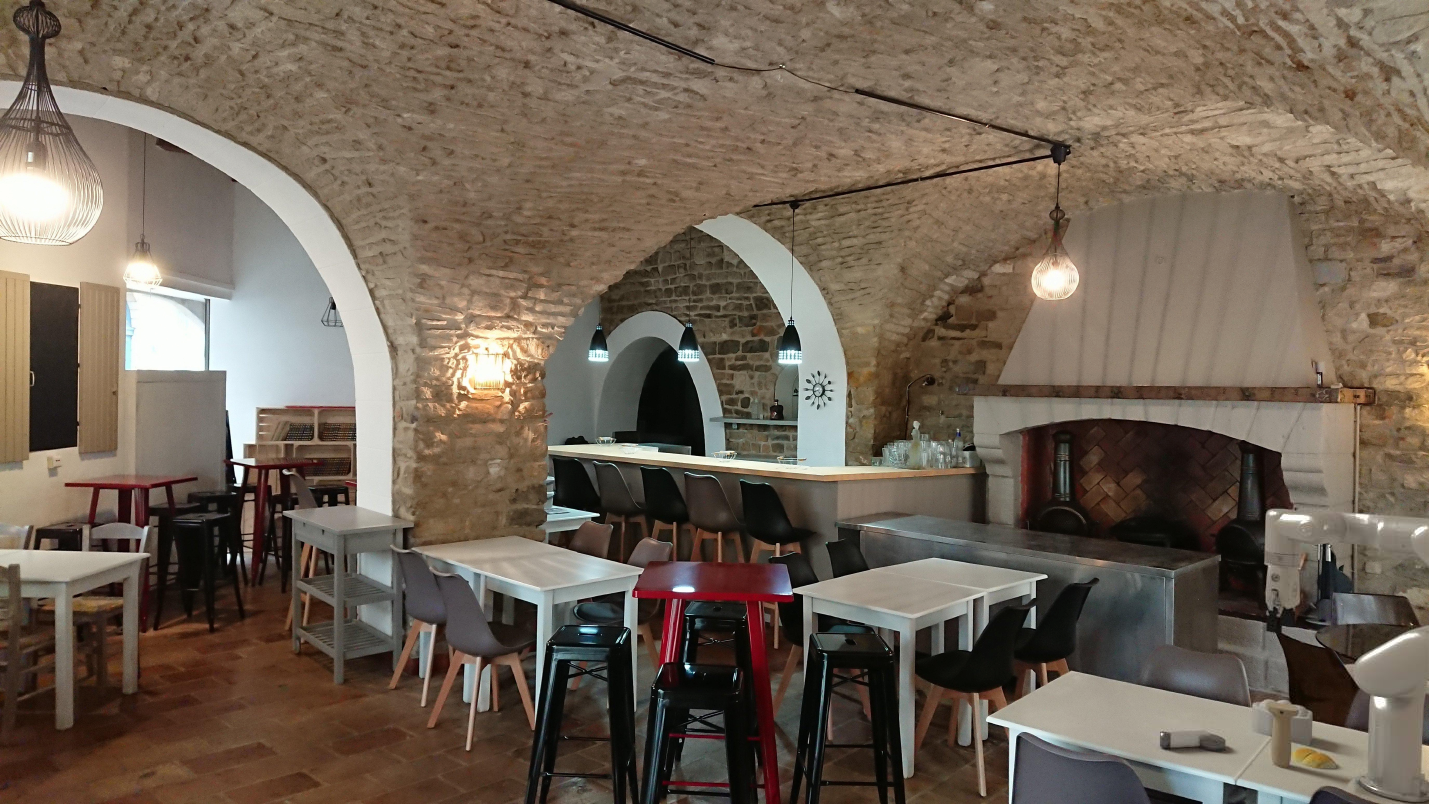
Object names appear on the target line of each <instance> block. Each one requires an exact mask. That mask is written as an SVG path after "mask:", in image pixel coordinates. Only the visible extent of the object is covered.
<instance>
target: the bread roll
mask: <svg viewBox="0 0 1429 804" xmlns="http://www.w3.org/2000/svg"><path fill="white" fill-rule="evenodd" d="M1291 760H1293V761H1294V762H1296V763H1299V764H1301V765H1303V766H1306V767H1309V768H1314V769H1320V770H1321V769H1322V770H1324V769H1337V768H1338V765H1337V763H1336V762H1335V761H1334V759H1333V758H1332V757H1330V756H1329V755H1327V754H1326V753H1323V752H1318V751H1317V750H1314V749H1311V748H1307V747H1306V748H1297V749H1295V750H1293V752H1291Z"/></svg>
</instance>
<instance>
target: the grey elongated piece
mask: <svg viewBox="0 0 1429 804" xmlns="http://www.w3.org/2000/svg"><path fill="white" fill-rule="evenodd" d="M1159 747H1161V748H1163V749H1171V748H1187V747H1196V748H1198V749H1201V750H1205V751H1209V752H1216V753H1217V752H1224V751H1225V750H1226V739H1225V738H1224V737H1222V736H1220V735H1217V734H1213V733H1211V732H1209V731H1207V730H1184V731H1183V730H1181V731H1164V730H1163V731H1160V732H1159Z"/></svg>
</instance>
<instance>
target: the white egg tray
mask: <svg viewBox="0 0 1429 804" xmlns="http://www.w3.org/2000/svg"><path fill="white" fill-rule="evenodd" d="M1267 702H1275V703H1282V704H1287V705H1291V706H1295V707H1297V708H1298V709H1299V714H1298V715H1297V716H1295V717H1292V718H1291V721H1290V726H1291V743H1292V744H1297V745H1301V746H1306V747H1310V746H1311V742H1313V711H1311V710H1309V709H1307V708H1306V707H1304V706H1303V705H1299V704H1292V702H1290V701H1289V700H1286V699H1282V700H1277V701H1276V700H1273V699H1268V698H1267V699H1264V700H1263V701H1256V702H1253V703H1252V705H1251V732H1252V731H1253V732H1252V733H1256V734H1259V735H1263V736H1267V737H1271V738H1272V731H1273V719H1274V718H1273V714H1272V713H1270V712H1269V711H1268V710H1267V709H1266V703H1267Z"/></svg>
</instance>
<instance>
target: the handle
mask: <svg viewBox="0 0 1429 804" xmlns="http://www.w3.org/2000/svg"><path fill="white" fill-rule="evenodd" d="M1266 709H1267V710H1268V711H1269V712H1270V713H1272V714H1273V718H1274V719H1273V731H1272V737H1271V742H1270V743H1271V744H1270V746H1271V747H1270V753H1271V754H1270V755H1271V762H1272V765H1273V766H1275V767H1278V768H1281V769H1283V768H1285V769H1289V768H1290V764H1291V760H1292V758H1291V755H1292V742H1291V726H1290V721H1291V718H1292V717H1295V716H1297V715H1298V714H1299V709H1298V708H1297V707H1295V706H1291V705H1287V704H1282V703H1275V702H1267V703H1266Z"/></svg>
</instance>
